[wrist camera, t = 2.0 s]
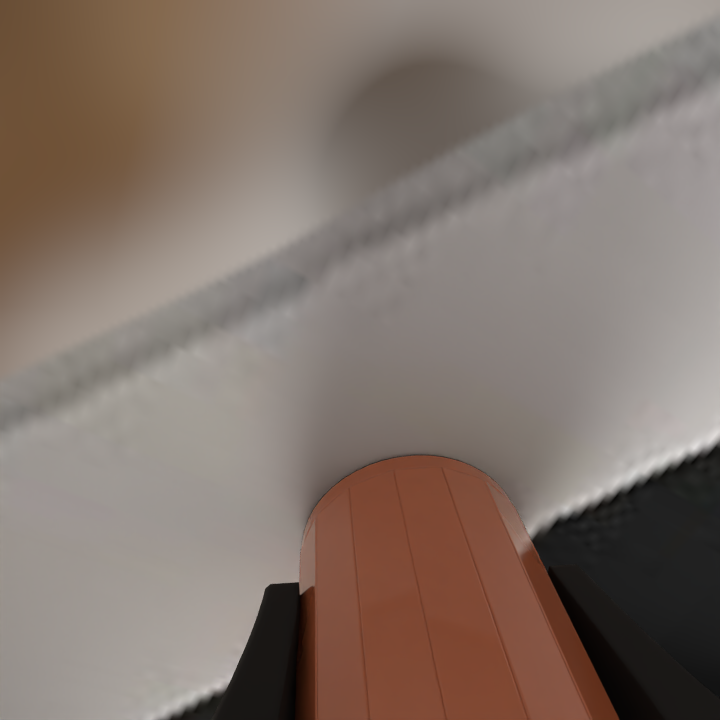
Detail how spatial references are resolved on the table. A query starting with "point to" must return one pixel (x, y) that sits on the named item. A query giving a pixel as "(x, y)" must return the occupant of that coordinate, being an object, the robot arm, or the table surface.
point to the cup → (433, 605)
